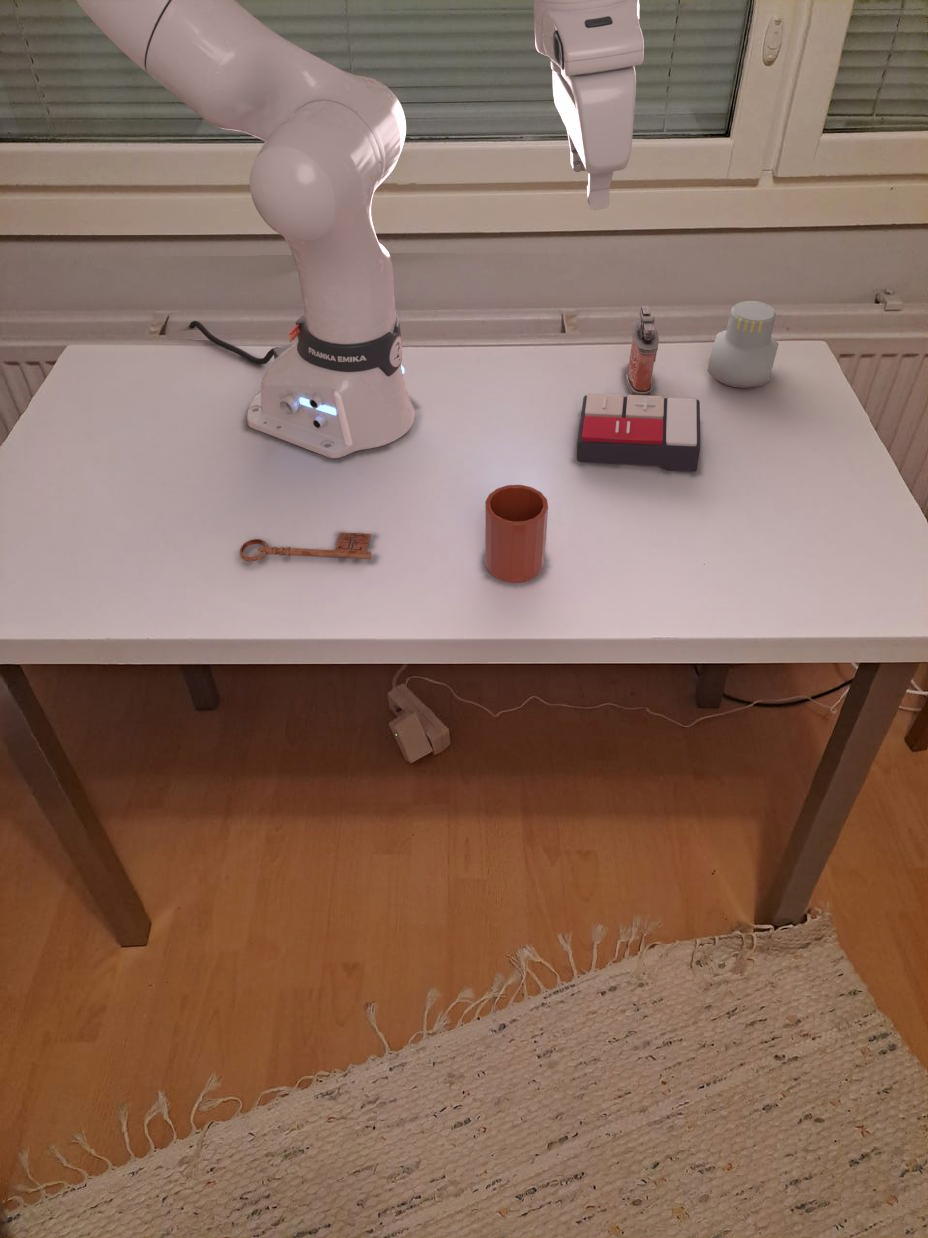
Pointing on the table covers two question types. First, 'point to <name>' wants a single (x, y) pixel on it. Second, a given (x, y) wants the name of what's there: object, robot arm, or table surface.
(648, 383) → the lighter
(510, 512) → the cup
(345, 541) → the key
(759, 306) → the air freshener
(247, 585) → the table surface
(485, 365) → the table surface
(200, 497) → the table surface
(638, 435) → the calculator
